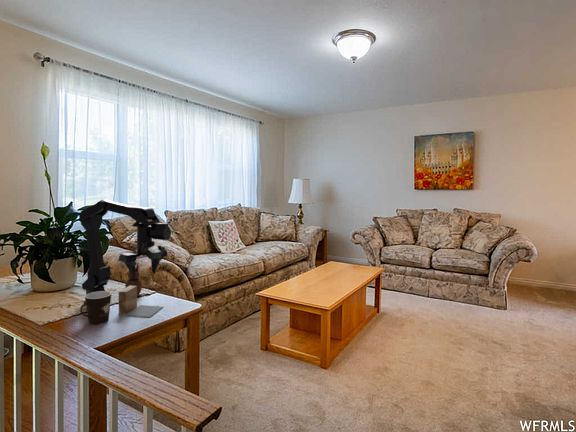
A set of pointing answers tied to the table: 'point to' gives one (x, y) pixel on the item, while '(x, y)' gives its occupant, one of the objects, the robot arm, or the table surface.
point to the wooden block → (127, 299)
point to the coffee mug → (97, 307)
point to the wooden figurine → (134, 280)
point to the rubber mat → (144, 311)
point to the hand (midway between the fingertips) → (143, 275)
